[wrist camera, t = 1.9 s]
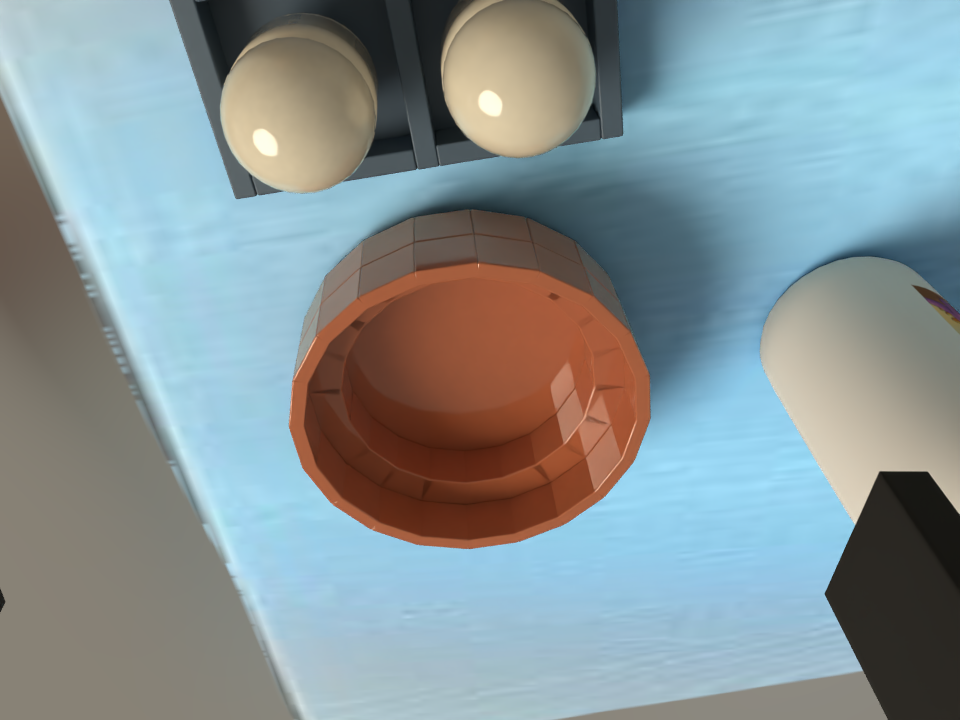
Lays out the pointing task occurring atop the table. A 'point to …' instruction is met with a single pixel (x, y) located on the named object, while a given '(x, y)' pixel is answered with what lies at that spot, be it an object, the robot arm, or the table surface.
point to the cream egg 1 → (301, 103)
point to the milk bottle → (869, 374)
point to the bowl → (467, 381)
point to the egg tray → (387, 74)
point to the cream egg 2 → (516, 74)
